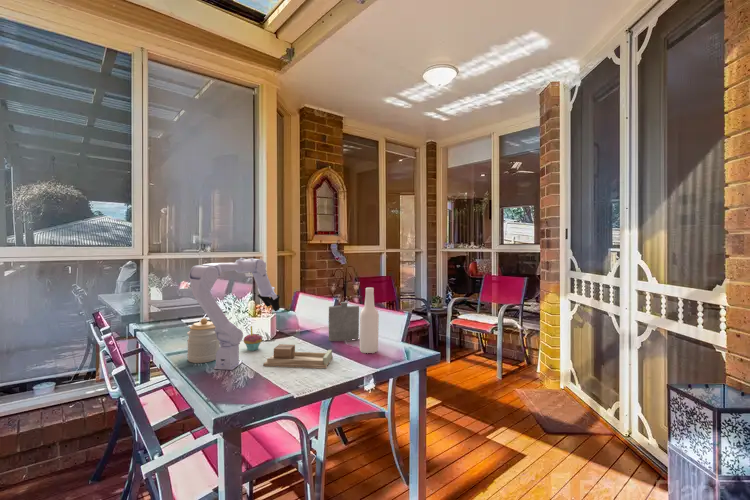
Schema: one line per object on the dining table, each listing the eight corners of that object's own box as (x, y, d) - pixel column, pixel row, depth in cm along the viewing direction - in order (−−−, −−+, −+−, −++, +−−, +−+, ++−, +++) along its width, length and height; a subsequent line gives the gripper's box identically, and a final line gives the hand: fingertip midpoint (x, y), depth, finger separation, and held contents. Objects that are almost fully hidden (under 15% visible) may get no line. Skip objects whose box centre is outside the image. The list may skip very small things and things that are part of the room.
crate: (289, 361, 154) (289, 349, 154) (273, 360, 155) (273, 348, 154) (294, 356, 161) (294, 344, 161) (279, 355, 162) (279, 344, 161)
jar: (207, 364, 152) (207, 322, 152) (180, 362, 155) (180, 320, 154) (226, 355, 165) (226, 316, 164) (200, 353, 167) (200, 314, 167)
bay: (325, 368, 149) (325, 358, 149) (263, 365, 151) (263, 356, 151) (332, 357, 163) (332, 348, 163) (275, 355, 165) (275, 346, 165)
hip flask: (358, 338, 197) (358, 300, 196) (359, 340, 193) (359, 302, 192) (328, 339, 193) (328, 301, 193) (329, 341, 189) (329, 302, 189)
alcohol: (355, 350, 175) (356, 287, 174) (370, 347, 180) (371, 286, 179) (366, 355, 168) (367, 289, 167) (381, 351, 173) (382, 288, 172)
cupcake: (258, 352, 170) (258, 326, 170) (240, 351, 170) (240, 325, 170) (264, 346, 179) (264, 322, 178) (247, 346, 179) (247, 321, 179)
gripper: (278, 282, 163) (288, 307, 168) (263, 275, 173) (272, 299, 179) (265, 290, 159) (275, 315, 164) (249, 282, 169) (260, 307, 175)
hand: (273, 308), depth 171 cm, fingers open, 7 cm apart
